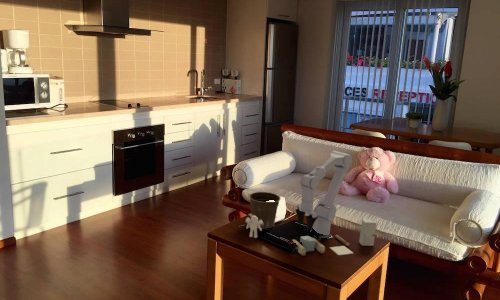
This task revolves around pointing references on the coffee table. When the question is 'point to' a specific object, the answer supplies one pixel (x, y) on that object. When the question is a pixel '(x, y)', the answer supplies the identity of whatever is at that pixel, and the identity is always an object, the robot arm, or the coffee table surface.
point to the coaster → (341, 250)
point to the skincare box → (367, 232)
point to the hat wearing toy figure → (253, 225)
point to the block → (307, 243)
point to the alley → (317, 246)
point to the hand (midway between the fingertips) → (304, 226)
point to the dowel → (342, 240)
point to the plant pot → (264, 208)
